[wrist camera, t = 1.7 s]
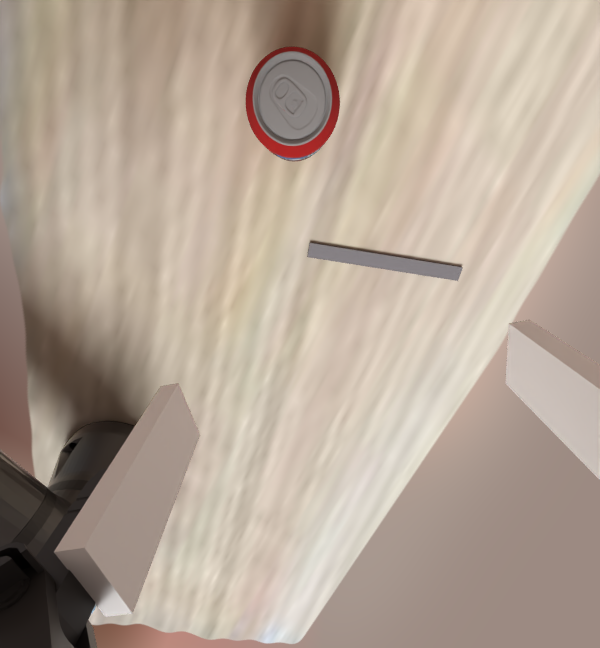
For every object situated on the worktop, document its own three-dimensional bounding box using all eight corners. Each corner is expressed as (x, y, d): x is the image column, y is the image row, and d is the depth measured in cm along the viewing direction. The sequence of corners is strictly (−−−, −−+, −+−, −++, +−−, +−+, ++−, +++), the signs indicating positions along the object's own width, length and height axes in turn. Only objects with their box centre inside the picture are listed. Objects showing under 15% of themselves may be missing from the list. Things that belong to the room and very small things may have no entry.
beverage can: (297, 176, 35) (297, 178, 25) (246, 127, 34) (221, 105, 23) (342, 120, 33) (364, 95, 22) (290, 65, 32) (286, 8, 21)
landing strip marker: (307, 256, 39) (307, 256, 39) (309, 242, 38) (309, 243, 38) (456, 280, 40) (457, 280, 40) (461, 266, 40) (462, 267, 39)
